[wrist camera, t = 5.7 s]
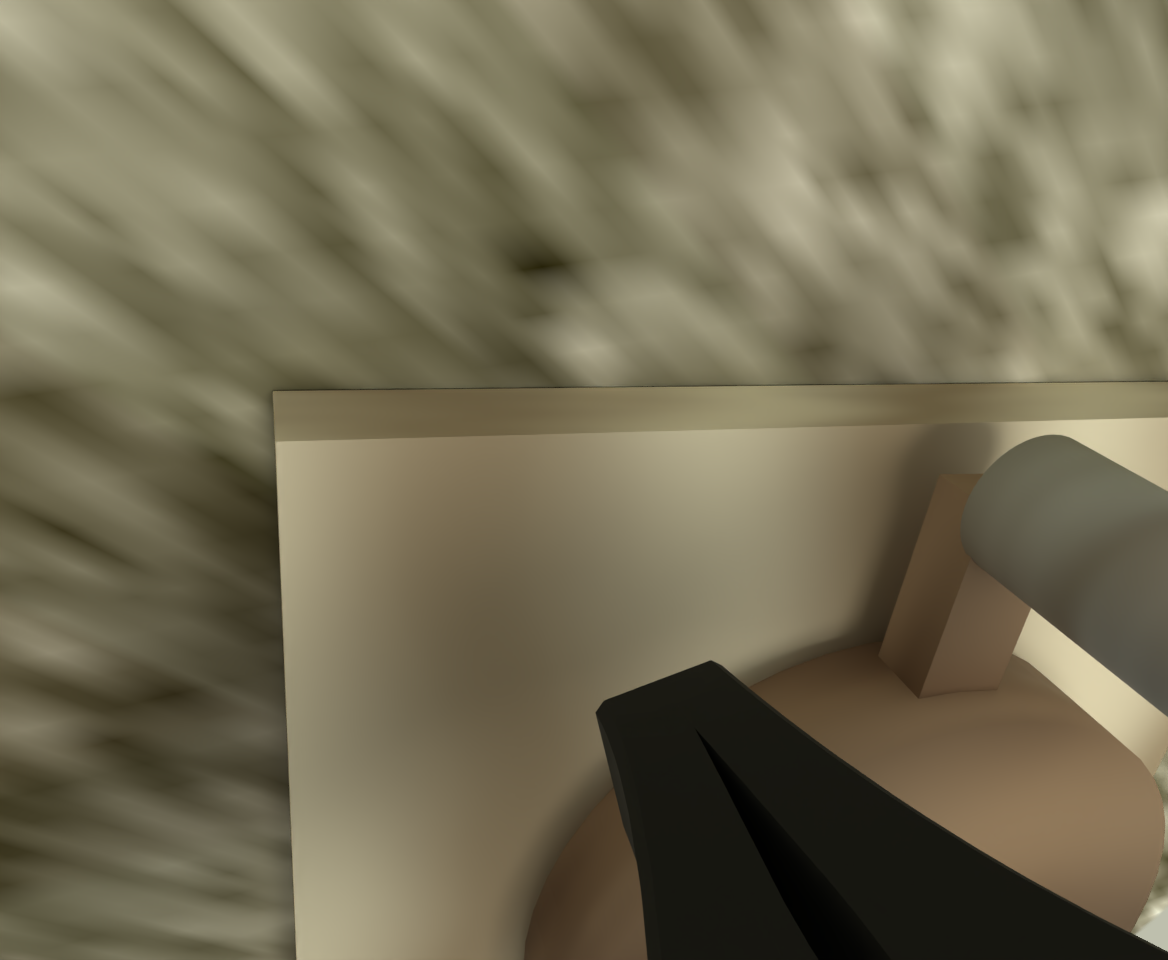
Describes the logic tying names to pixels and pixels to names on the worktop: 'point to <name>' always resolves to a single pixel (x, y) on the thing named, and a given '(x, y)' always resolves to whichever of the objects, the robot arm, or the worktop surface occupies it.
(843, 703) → the crank dial
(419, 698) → the wooden cutting board
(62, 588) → the worktop surface
